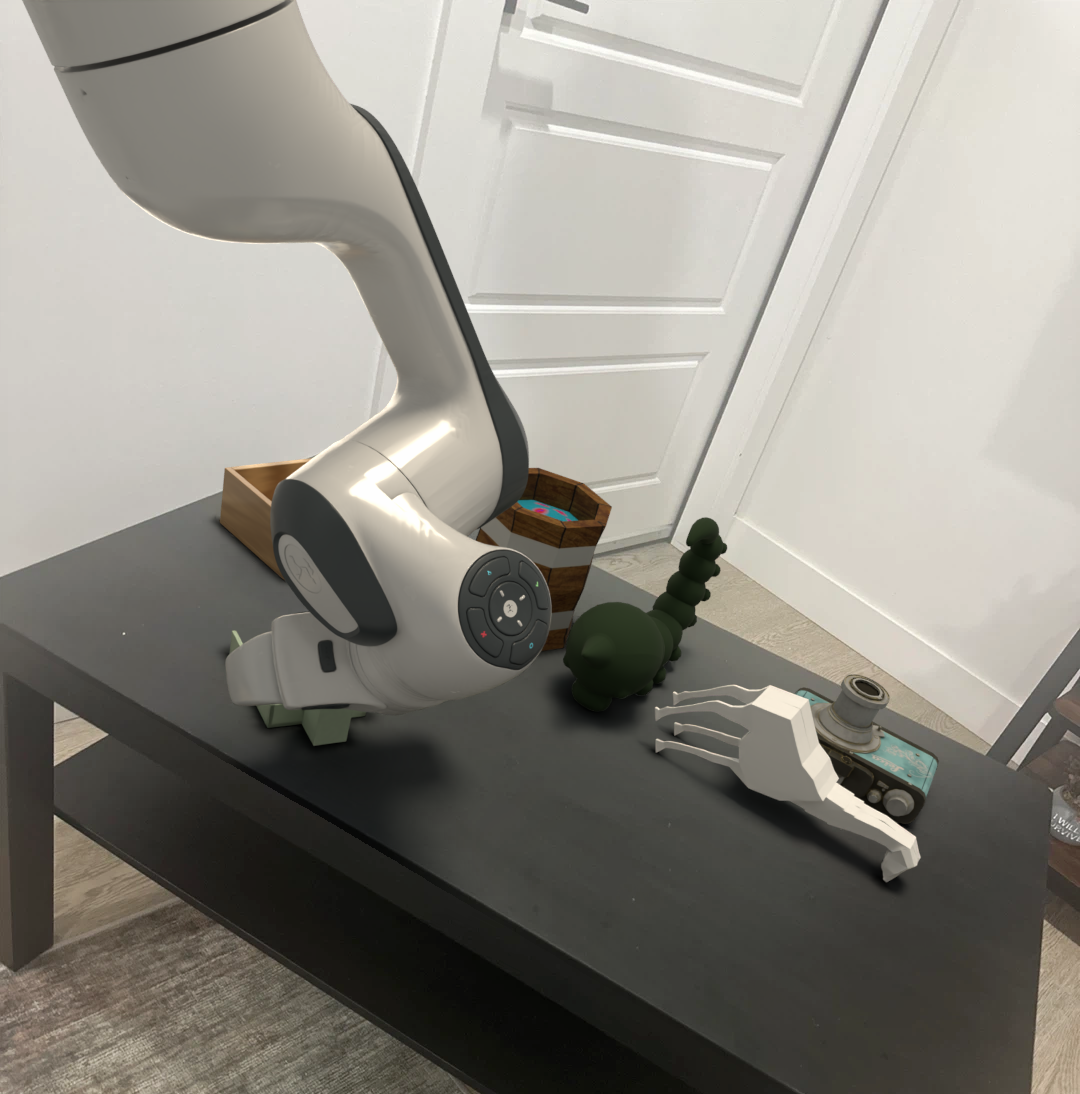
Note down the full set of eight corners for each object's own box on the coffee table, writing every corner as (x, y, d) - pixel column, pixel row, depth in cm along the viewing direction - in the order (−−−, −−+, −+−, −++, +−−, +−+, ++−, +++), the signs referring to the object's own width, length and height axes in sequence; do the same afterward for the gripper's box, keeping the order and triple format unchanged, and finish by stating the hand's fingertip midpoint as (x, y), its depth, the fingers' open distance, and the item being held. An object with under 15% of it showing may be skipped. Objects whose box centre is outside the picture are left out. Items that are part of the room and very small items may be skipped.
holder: (283, 580, 102) (291, 524, 98) (219, 522, 108) (224, 467, 104) (378, 560, 110) (388, 508, 107) (314, 508, 116) (321, 456, 112)
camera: (970, 719, 99) (955, 763, 91) (923, 788, 104) (905, 835, 96) (821, 643, 103) (795, 679, 95) (783, 713, 108) (756, 753, 101)
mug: (593, 628, 112) (636, 511, 103) (531, 669, 101) (572, 542, 93) (459, 550, 118) (489, 433, 109) (387, 581, 107) (414, 454, 99)
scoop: (378, 737, 86) (399, 644, 80) (278, 750, 81) (293, 653, 75) (322, 645, 95) (338, 556, 89) (229, 652, 90) (239, 558, 84)
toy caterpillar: (626, 640, 115) (515, 702, 95) (689, 492, 105) (580, 526, 85) (694, 680, 112) (594, 752, 92) (766, 531, 103) (671, 576, 82)
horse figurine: (655, 834, 100) (909, 900, 87) (653, 686, 93) (928, 734, 80) (676, 812, 103) (922, 872, 91) (675, 668, 96) (942, 711, 84)
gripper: (513, 601, 76) (434, 633, 88) (253, 617, 65) (202, 651, 76) (526, 681, 76) (445, 702, 87) (267, 711, 65) (214, 730, 76)
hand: (329, 679), depth 82 cm, fingers closed on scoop, 3 cm apart
